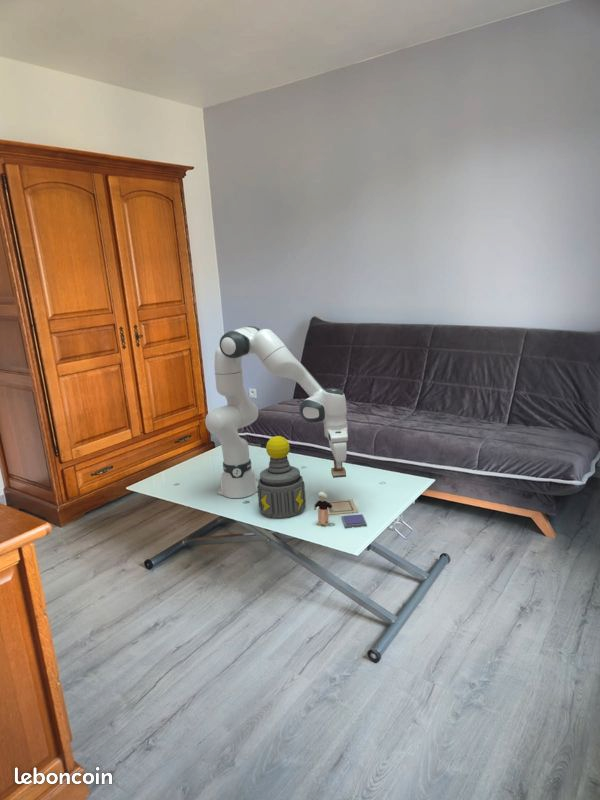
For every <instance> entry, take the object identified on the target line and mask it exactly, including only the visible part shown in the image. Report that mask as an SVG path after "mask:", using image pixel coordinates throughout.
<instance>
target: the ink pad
mask: <svg viewBox="0 0 600 800" xmlns="http://www.w3.org/2000/svg"><path fill="white" fill-rule="evenodd" d="M341 521H342V524H343V527H344V529H352V527H354V528H362V527H361V526H364V527H367V526H368V523H367V521H366V518H365V517H364V514H362V513H361V514H359V513H358V514H350V515H342V516H341Z"/></svg>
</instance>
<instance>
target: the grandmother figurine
mask: <svg viewBox="0 0 600 800" xmlns="http://www.w3.org/2000/svg"><path fill="white" fill-rule="evenodd" d="M326 499H328V494H327V493H326V492H324V491H320V492H318V501H316V503H314V507H313V511H316V510H317V512H318V514H317V515H318V517H317V522H316V525H317V526H322V525H323V526H324V527H328V526H329V525H330V523H329V515H328V509H327V507H328V508H330V509H331V511H332V512H333V511H334V509H333V507H332V505H331V504H330V503H329V502H327V501H326ZM317 508H318V509H317Z"/></svg>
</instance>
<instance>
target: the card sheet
mask: <svg viewBox="0 0 600 800" xmlns="http://www.w3.org/2000/svg"><path fill="white" fill-rule="evenodd" d="M327 502H329V503H330V504H331V505H332V507H333V509H334V511H333V512H332V511H331V509H330V508H328V507H327V509H328V516H334V515H345V514H355V513H354V512H357V513H359V511H358V508H357V505H356V504H355V501H354V499H353V498H352V499H351V498H350V499H338V500H328V501H327Z"/></svg>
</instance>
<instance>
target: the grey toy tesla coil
mask: <svg viewBox="0 0 600 800" xmlns="http://www.w3.org/2000/svg"><path fill="white" fill-rule="evenodd" d="M265 448H266V449H265V450H266V453H267V456H269V463H268V467H267V468H265V469H263V470H261V472H260V474H259V477H260V478H259V479H257V481H258V486H257V490H258V492H257V500H258V507H259V510H260V513H262V515H264V516H266V517H268V518H271V519H287V518H292V517H296V516H297V514H298V515H299V514H300V513H302V512H303V511H304V509H305V507H306V490H305V481H304V479H303V476H302V475H301V472H300V471H301V470H300V469H299V468H298V467H296V466H294V465H293V466H292V465H291V464H290V462H289V458H288V455H289V453H290V449H291V448H290V443H289V441H288V440H287V439H286V438H285V437H284V436H281V435H276V436H275V435H274V436H273V437H271V438H269V440H268V441H267V443H266V444H265Z"/></svg>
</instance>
